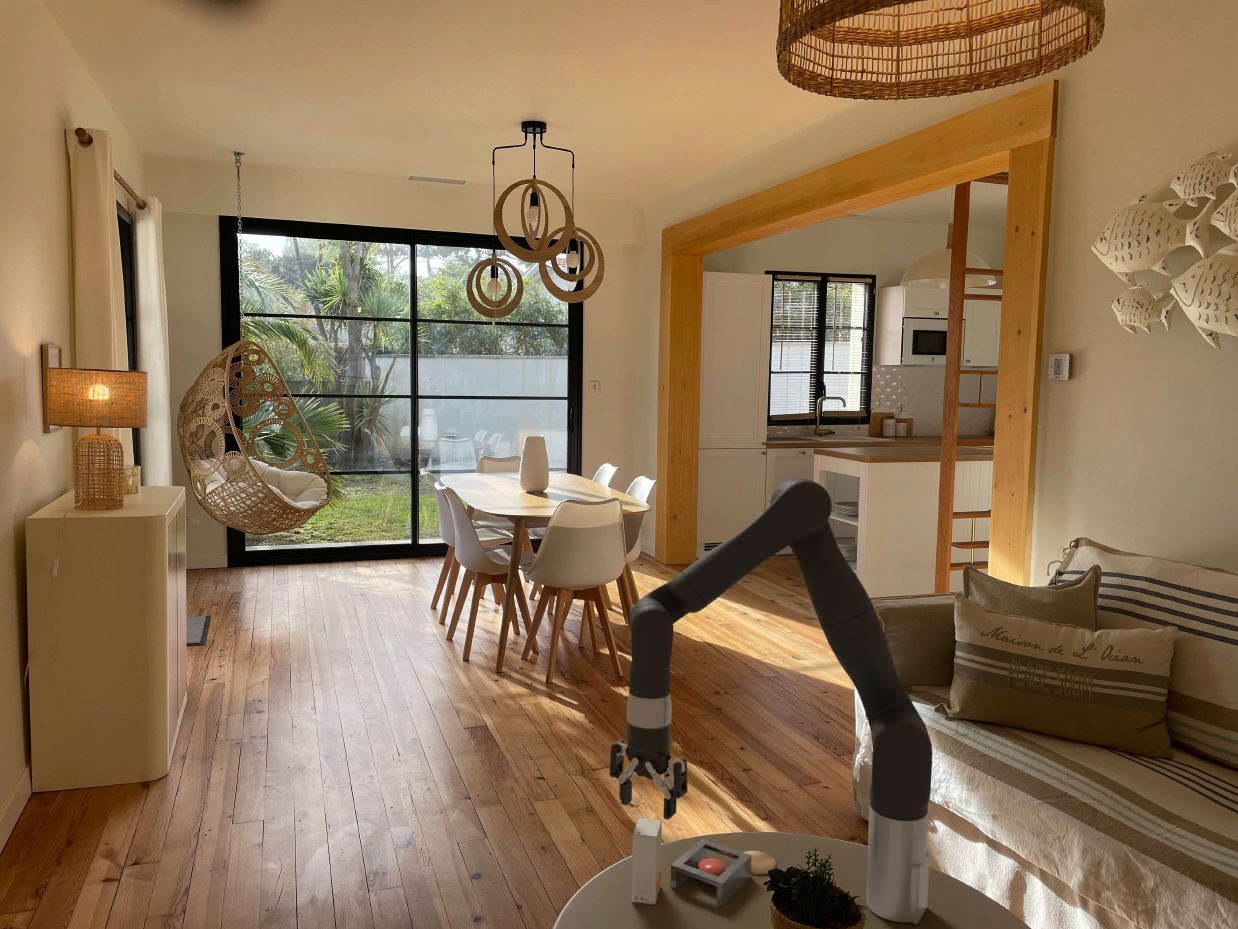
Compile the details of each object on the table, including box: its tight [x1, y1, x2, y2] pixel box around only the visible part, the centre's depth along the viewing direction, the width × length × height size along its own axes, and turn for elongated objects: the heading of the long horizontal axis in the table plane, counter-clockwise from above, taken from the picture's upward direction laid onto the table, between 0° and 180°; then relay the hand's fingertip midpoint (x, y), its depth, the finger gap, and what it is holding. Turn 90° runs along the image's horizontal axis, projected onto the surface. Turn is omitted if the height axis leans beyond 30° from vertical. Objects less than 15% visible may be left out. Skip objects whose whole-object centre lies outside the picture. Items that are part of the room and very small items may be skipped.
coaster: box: [742, 850, 777, 876], centre depth 160 cm, size 7×7×1 cm
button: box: [696, 857, 727, 877], centre depth 154 cm, size 6×6×1 cm
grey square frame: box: [670, 838, 752, 907], centre depth 154 cm, size 10×11×4 cm
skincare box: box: [630, 817, 663, 905], centre depth 149 cm, size 6×4×12 cm
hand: (647, 810), depth 149 cm, fingers open, 8 cm apart
